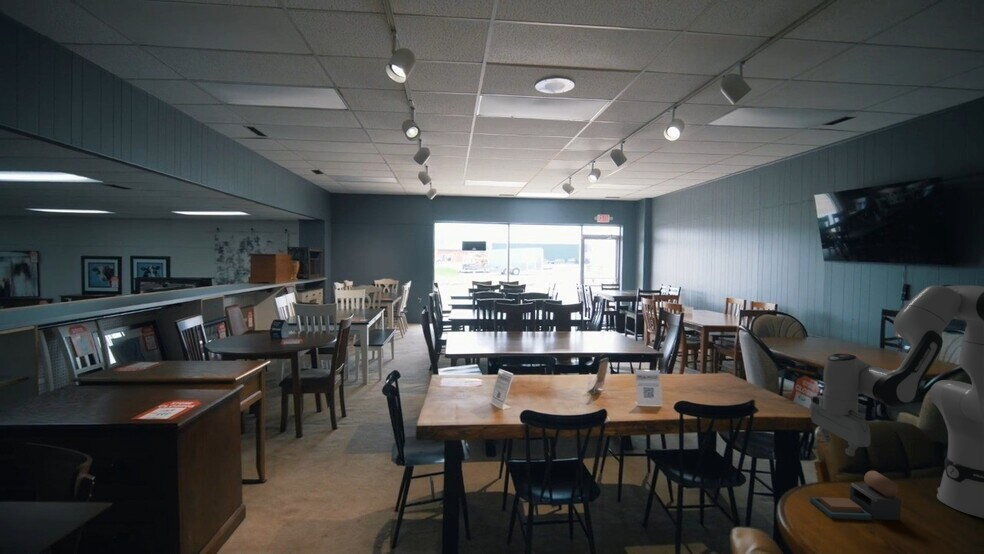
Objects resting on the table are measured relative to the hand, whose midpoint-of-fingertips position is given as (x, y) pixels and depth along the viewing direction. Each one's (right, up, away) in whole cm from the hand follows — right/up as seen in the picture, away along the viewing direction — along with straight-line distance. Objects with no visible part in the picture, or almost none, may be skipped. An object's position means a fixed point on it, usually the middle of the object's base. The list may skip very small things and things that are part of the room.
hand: (837, 448), depth 140 cm
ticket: (-1, -18, -2) cm, 18 cm away
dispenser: (+10, -19, -2) cm, 21 cm away
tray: (-1, -19, -2) cm, 19 cm away
